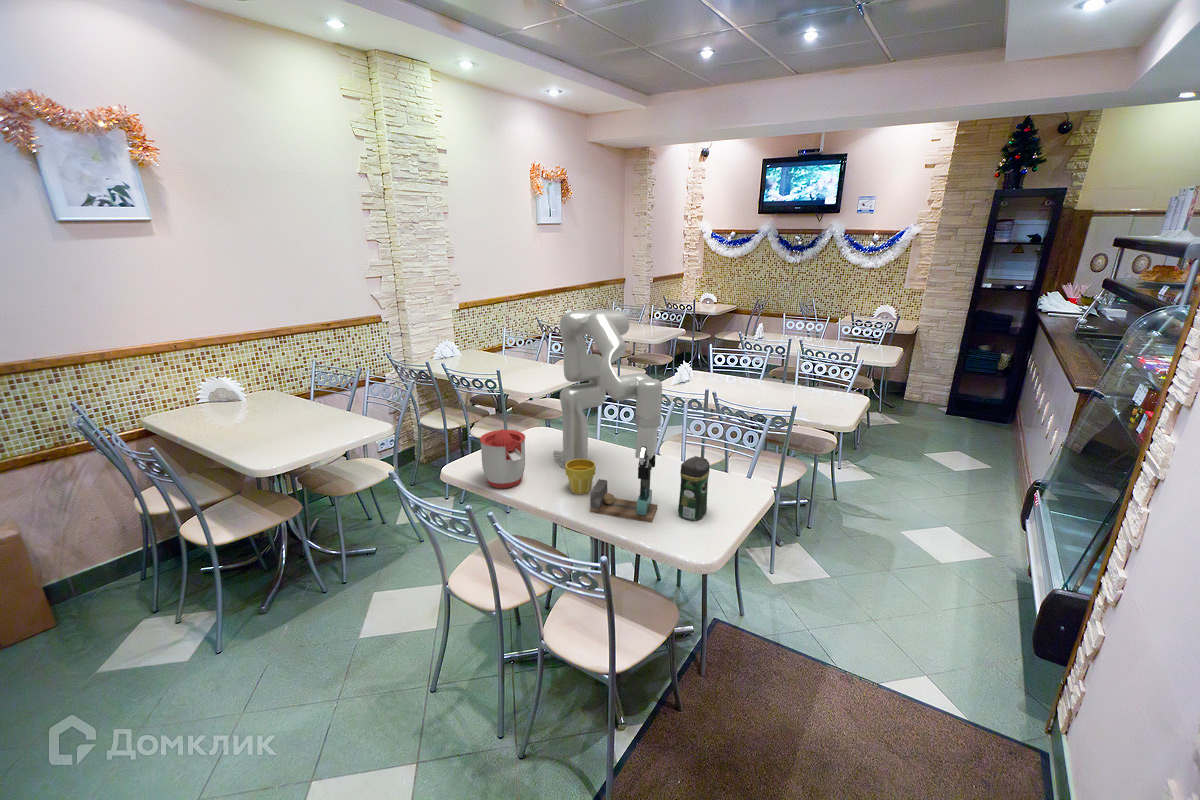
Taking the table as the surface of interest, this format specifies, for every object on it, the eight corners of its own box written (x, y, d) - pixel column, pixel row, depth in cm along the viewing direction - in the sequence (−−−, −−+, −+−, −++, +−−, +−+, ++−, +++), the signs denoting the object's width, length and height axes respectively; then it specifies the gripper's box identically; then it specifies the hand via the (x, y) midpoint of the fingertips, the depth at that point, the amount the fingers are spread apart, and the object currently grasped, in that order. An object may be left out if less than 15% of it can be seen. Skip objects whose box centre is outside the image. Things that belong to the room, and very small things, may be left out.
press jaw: (635, 513, 160) (637, 466, 155) (641, 502, 167) (643, 456, 162) (647, 515, 159) (649, 467, 154) (652, 503, 166) (654, 457, 161)
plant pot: (565, 483, 183) (564, 458, 180) (594, 483, 184) (594, 457, 181) (565, 497, 173) (565, 471, 170) (596, 496, 174) (596, 470, 171)
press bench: (590, 512, 164) (590, 491, 162) (598, 499, 172) (598, 479, 170) (651, 522, 158) (652, 500, 156) (657, 508, 167) (658, 487, 164)
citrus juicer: (498, 498, 172) (495, 442, 166) (474, 480, 185) (471, 427, 179) (537, 485, 182) (536, 432, 176) (512, 468, 194) (510, 418, 188)
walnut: (601, 505, 165) (601, 495, 164) (604, 500, 168) (605, 490, 167) (612, 507, 164) (612, 497, 163) (615, 502, 167) (615, 492, 166)
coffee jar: (687, 504, 170) (690, 452, 164) (709, 511, 166) (714, 458, 160) (673, 516, 162) (677, 462, 157) (696, 524, 158) (701, 468, 153)
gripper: (642, 410, 163) (640, 460, 168) (629, 427, 147) (628, 482, 152) (665, 412, 161) (663, 463, 166) (655, 430, 145) (653, 485, 150)
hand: (646, 472), depth 159 cm, fingers open, 9 cm apart
